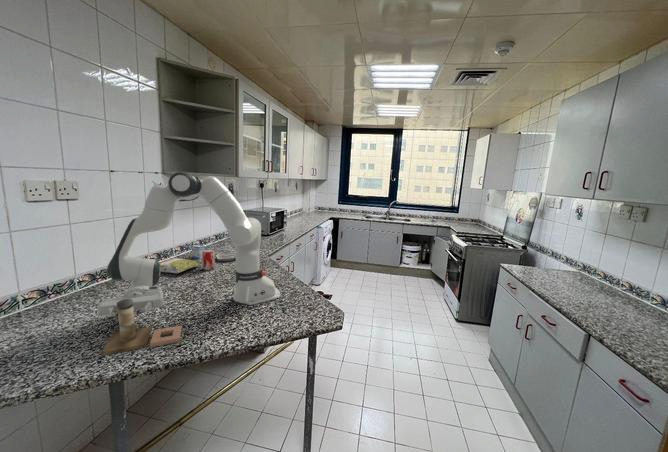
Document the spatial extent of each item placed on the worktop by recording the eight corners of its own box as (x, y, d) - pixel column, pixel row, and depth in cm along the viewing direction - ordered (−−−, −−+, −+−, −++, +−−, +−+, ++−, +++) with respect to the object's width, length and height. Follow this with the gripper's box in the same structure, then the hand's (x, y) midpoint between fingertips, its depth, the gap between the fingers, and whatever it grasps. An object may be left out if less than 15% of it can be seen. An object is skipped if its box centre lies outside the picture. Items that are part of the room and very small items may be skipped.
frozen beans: (179, 267, 158) (142, 263, 163) (179, 277, 159) (142, 272, 164) (203, 258, 179) (169, 255, 183) (203, 267, 179) (170, 263, 184)
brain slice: (240, 262, 191) (240, 257, 191) (214, 263, 186) (214, 259, 186) (241, 254, 210) (241, 250, 209) (217, 255, 205) (217, 251, 204)
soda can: (210, 271, 171) (209, 252, 169) (200, 270, 172) (199, 251, 170) (217, 267, 178) (216, 249, 175) (207, 266, 179) (206, 248, 177)
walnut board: (152, 329, 107) (151, 326, 106) (145, 347, 96) (145, 344, 96) (113, 335, 102) (113, 332, 102) (102, 355, 91) (101, 352, 91)
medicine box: (191, 257, 197) (190, 245, 195) (196, 256, 201) (196, 244, 199) (199, 259, 194) (199, 247, 192) (205, 257, 198) (204, 245, 196)
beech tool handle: (137, 333, 102) (133, 298, 99) (134, 340, 98) (130, 303, 95) (123, 336, 100) (118, 300, 97) (119, 343, 96) (114, 305, 93)
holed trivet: (182, 328, 108) (181, 325, 108) (179, 341, 100) (179, 337, 99) (154, 333, 104) (154, 329, 104) (150, 347, 96) (149, 343, 96)
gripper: (103, 293, 107) (90, 309, 94) (165, 286, 115) (160, 300, 103) (105, 308, 108) (92, 326, 95) (166, 300, 116) (161, 315, 104)
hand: (128, 312), depth 99 cm, fingers open, 8 cm apart
